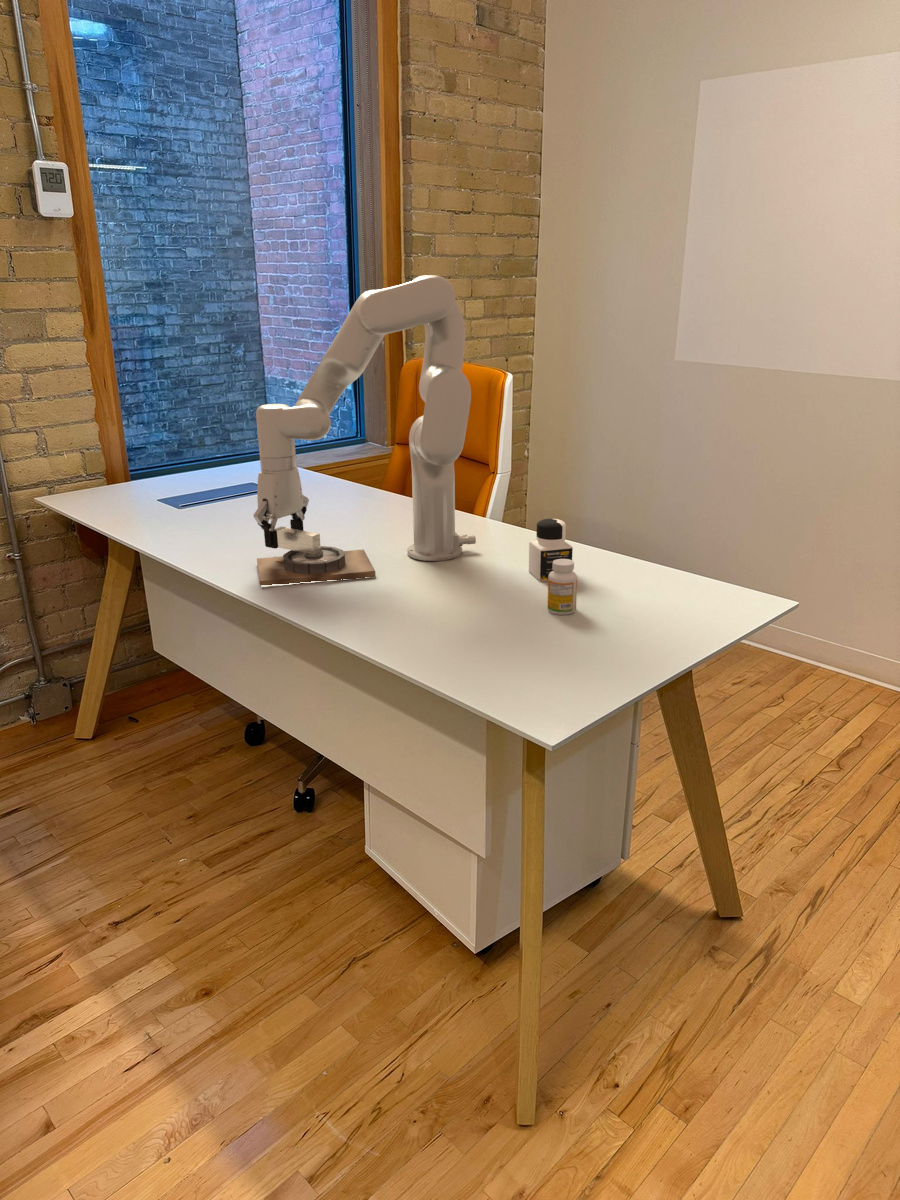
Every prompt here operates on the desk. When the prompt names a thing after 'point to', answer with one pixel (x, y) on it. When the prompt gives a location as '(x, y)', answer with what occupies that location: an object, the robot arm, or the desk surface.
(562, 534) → the medicine bottle
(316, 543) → the dial
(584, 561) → the desk surface
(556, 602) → the supplement bottle
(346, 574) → the dial base
